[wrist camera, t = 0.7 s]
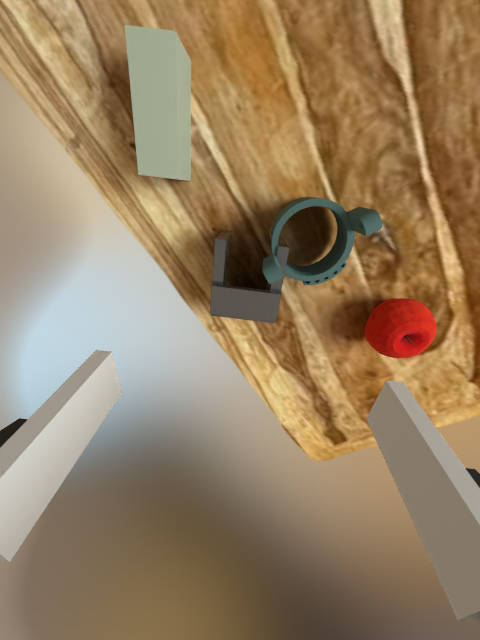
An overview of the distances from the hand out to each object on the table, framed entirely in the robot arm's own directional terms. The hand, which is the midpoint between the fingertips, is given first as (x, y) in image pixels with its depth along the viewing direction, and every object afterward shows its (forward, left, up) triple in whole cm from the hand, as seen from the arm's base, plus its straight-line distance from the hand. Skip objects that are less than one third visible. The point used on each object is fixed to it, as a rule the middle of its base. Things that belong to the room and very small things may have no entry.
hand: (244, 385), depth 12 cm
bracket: (-4, +6, -22) cm, 23 cm away
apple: (+5, +20, -23) cm, 31 cm away
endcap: (0, -1, -23) cm, 23 cm away
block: (-14, -11, -23) cm, 29 cm away
